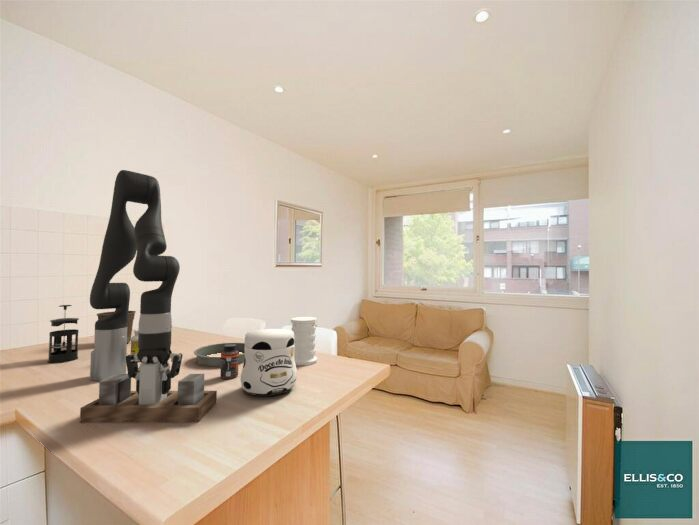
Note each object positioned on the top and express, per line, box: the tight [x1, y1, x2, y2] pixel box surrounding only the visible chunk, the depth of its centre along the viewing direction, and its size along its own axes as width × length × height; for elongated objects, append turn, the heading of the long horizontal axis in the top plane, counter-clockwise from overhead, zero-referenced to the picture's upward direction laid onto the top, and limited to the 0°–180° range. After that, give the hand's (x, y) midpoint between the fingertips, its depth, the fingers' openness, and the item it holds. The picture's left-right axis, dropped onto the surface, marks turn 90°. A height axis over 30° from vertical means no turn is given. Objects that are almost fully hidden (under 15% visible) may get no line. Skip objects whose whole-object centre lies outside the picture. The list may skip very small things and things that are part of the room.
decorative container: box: [290, 316, 318, 366], centre depth 130 cm, size 12×12×18 cm
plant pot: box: [96, 310, 137, 344], centre depth 159 cm, size 16×16×16 cm
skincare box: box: [139, 363, 167, 405], centre depth 82 cm, size 6×4×12 cm
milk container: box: [240, 328, 298, 397], centre depth 99 cm, size 17×17×18 cm
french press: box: [47, 304, 80, 364], centre depth 130 cm, size 12×9×23 cm
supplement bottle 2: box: [220, 344, 239, 380], centre depth 110 cm, size 6×6×11 cm
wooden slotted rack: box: [79, 373, 218, 424], centre depth 82 cm, size 29×11×9 cm, turn 91°
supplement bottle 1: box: [130, 328, 140, 363], centre depth 130 cm, size 7×7×13 cm
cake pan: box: [193, 342, 245, 367], centre depth 133 cm, size 25×25×4 cm
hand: (153, 393), depth 82 cm, fingers open, 5 cm apart
